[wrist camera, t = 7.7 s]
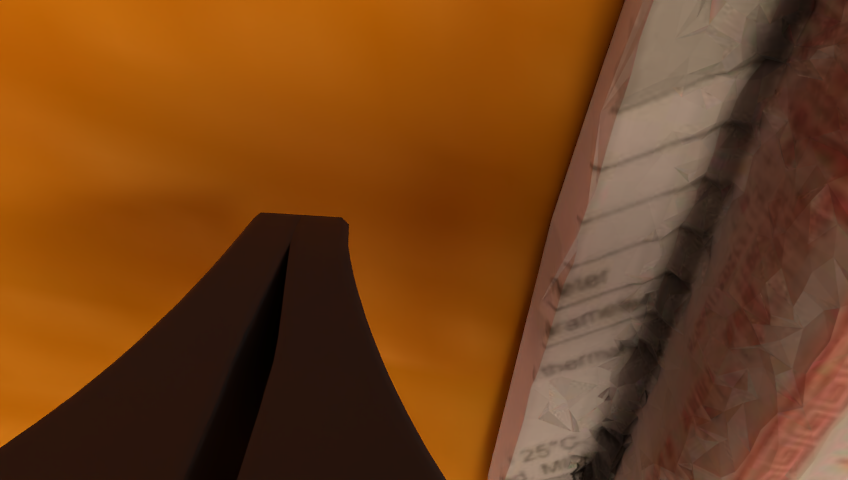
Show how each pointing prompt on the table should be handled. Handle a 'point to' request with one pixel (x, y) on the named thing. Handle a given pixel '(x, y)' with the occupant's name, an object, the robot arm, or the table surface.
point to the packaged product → (696, 258)
